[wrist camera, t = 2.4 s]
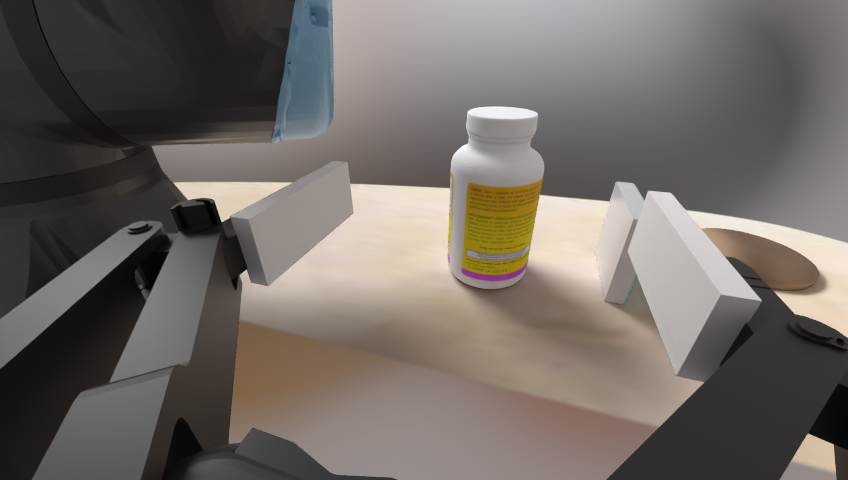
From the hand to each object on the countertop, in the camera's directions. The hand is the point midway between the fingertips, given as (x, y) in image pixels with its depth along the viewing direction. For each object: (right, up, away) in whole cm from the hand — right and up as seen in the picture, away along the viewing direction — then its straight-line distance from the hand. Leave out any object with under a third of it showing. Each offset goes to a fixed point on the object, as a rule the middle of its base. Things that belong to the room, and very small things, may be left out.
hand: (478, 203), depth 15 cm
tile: (+13, -5, +13) cm, 19 cm away
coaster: (+26, -3, +15) cm, 31 cm away
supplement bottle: (+3, -4, +14) cm, 15 cm away
